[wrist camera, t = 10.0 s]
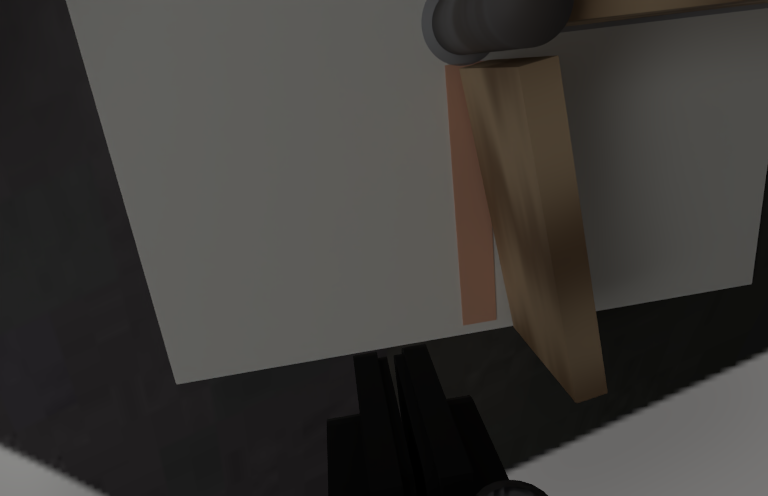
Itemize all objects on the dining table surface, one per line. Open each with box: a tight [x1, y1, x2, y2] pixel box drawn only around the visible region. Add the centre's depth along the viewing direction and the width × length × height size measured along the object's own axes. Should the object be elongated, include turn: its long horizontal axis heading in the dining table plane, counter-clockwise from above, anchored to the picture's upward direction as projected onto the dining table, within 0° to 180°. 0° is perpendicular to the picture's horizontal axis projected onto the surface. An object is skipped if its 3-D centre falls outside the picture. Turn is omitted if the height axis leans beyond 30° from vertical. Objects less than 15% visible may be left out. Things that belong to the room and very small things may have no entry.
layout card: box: [66, 0, 768, 384], centre depth 22 cm, size 28×19×1 cm
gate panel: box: [459, 55, 608, 403], centre depth 20 cm, size 12×1×6 cm, turn 16°
